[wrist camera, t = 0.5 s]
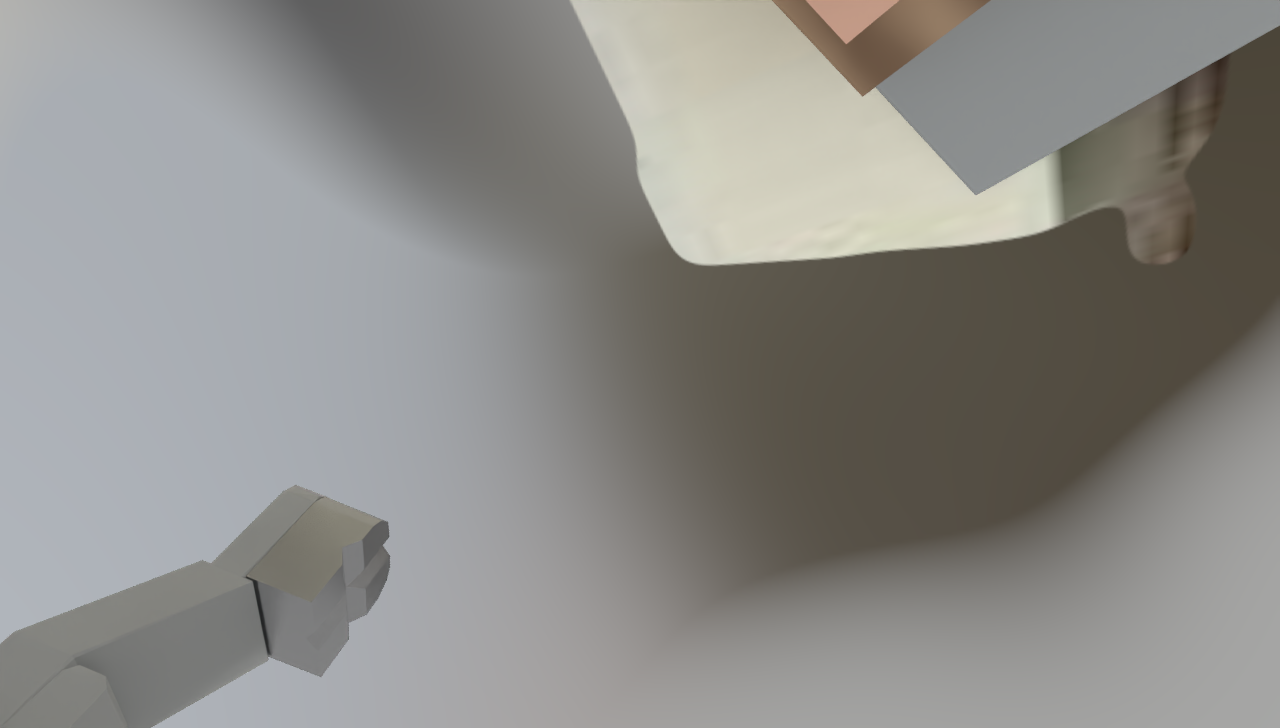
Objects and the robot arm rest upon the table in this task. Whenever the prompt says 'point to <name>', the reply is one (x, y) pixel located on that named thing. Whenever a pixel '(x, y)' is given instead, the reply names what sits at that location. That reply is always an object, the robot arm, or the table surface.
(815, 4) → the clay tile
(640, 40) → the table surface
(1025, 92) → the mat
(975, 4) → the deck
